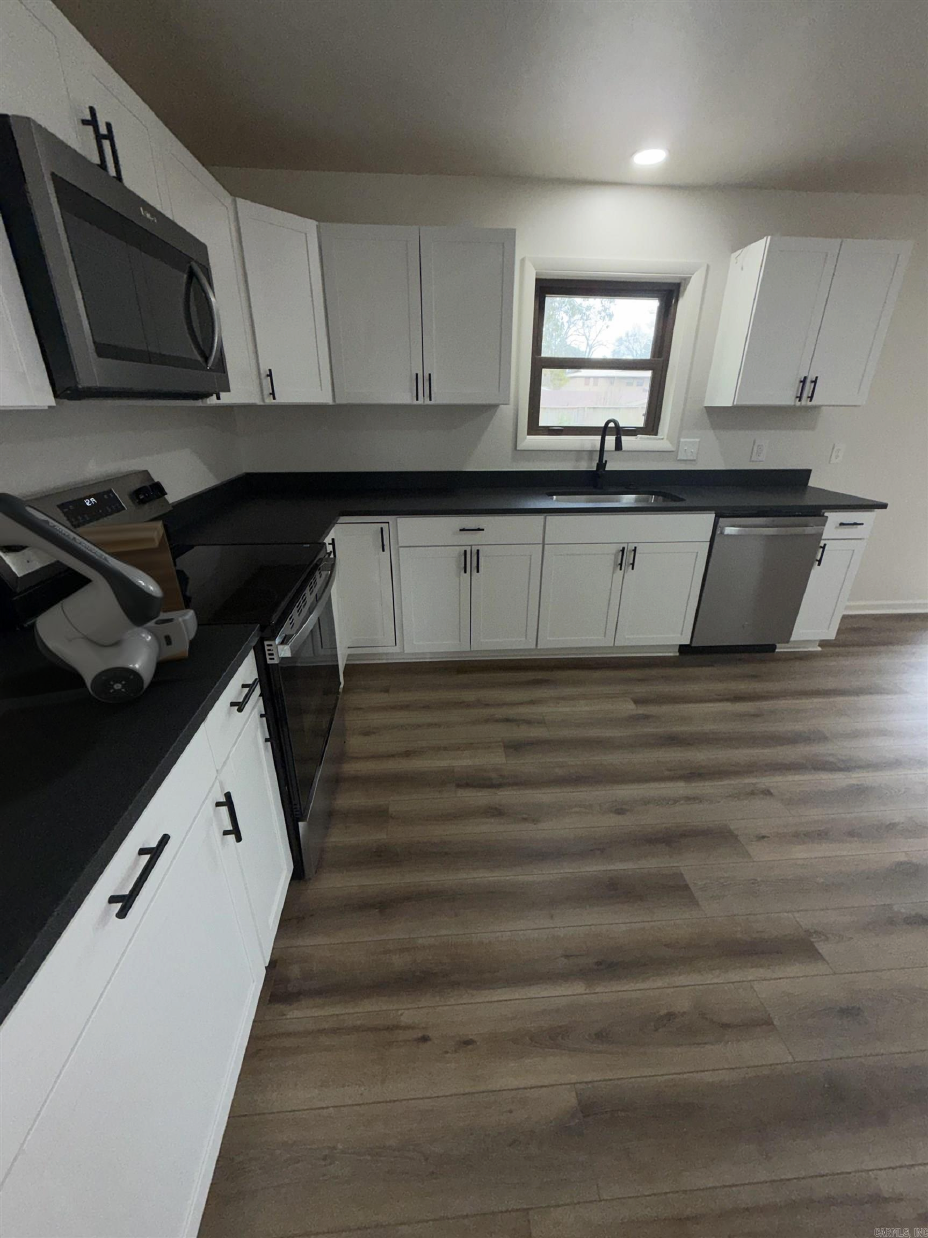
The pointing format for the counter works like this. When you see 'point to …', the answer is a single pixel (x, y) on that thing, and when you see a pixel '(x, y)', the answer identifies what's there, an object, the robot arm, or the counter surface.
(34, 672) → the counter surface
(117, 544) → the shelf
